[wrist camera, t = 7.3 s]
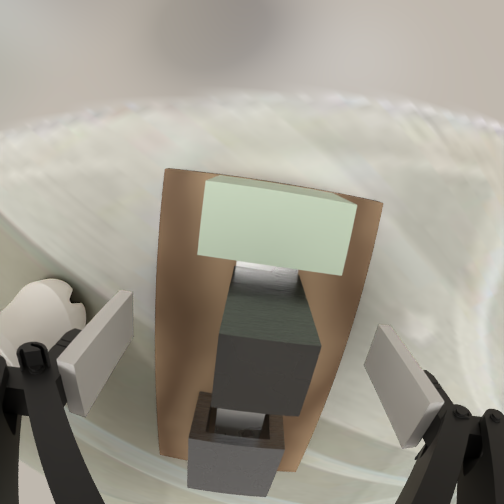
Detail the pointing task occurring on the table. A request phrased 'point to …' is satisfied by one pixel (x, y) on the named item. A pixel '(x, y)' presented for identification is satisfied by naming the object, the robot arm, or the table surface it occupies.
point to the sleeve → (233, 455)
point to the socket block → (275, 225)
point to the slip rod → (263, 349)
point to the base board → (212, 308)
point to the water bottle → (38, 317)
